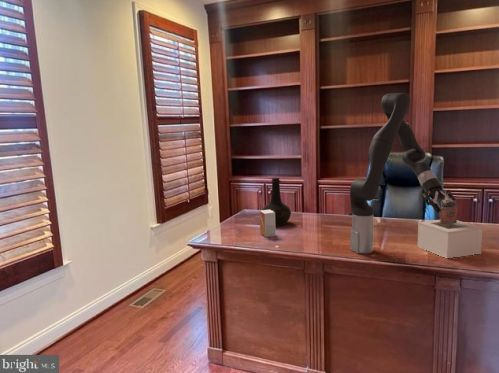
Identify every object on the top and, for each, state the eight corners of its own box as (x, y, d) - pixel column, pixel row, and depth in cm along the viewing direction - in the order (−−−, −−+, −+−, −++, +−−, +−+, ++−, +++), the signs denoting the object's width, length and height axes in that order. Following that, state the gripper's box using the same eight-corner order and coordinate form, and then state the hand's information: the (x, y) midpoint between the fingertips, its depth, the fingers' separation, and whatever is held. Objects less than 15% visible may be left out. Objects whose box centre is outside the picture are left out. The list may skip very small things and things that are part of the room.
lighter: (443, 224, 168) (444, 202, 167) (437, 222, 172) (438, 201, 170) (458, 222, 170) (459, 200, 169) (452, 221, 174) (453, 199, 172)
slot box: (446, 259, 161) (448, 231, 160) (417, 247, 178) (418, 222, 177) (481, 254, 166) (482, 227, 164) (449, 242, 183) (450, 218, 181)
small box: (260, 233, 211) (259, 210, 209) (270, 232, 213) (270, 209, 211) (264, 237, 203) (264, 213, 201) (276, 235, 205) (275, 212, 203)
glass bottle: (258, 227, 224) (256, 180, 220) (265, 219, 241) (264, 175, 237) (287, 228, 219) (286, 180, 215) (293, 220, 236) (292, 176, 232)
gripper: (420, 178, 175) (438, 207, 166) (446, 176, 179) (464, 205, 170) (412, 188, 181) (429, 217, 172) (437, 185, 185) (454, 214, 176)
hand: (446, 211), depth 171 cm, fingers closed on lighter, 8 cm apart
